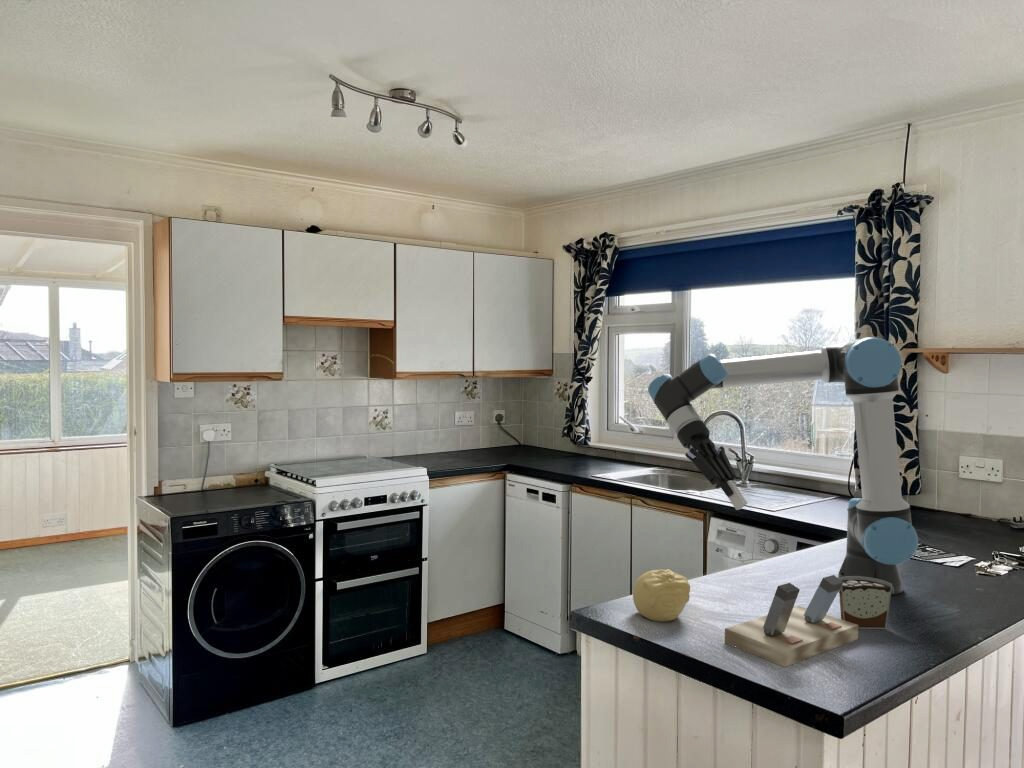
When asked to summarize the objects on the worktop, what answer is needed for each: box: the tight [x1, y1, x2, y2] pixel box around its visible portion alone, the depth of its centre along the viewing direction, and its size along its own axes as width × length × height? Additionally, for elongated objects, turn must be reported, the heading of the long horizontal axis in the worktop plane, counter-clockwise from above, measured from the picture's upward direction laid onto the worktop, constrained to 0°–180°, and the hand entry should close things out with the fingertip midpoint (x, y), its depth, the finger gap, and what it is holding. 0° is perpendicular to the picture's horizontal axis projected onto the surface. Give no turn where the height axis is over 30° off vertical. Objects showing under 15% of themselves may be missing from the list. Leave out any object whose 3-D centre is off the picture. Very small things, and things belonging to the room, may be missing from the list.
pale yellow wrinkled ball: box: [632, 568, 691, 622], centre depth 165 cm, size 12×12×11 cm
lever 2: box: [804, 574, 843, 623], centre depth 154 cm, size 4×2×11 cm, turn 126°
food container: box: [838, 576, 894, 630], centre depth 163 cm, size 12×6×10 cm, turn 92°
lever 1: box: [763, 582, 800, 636], centre depth 147 cm, size 4×2×11 cm, turn 126°
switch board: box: [724, 605, 859, 668], centre depth 152 cm, size 26×14×3 cm, turn 126°
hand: (741, 506), depth 171 cm, fingers closed
